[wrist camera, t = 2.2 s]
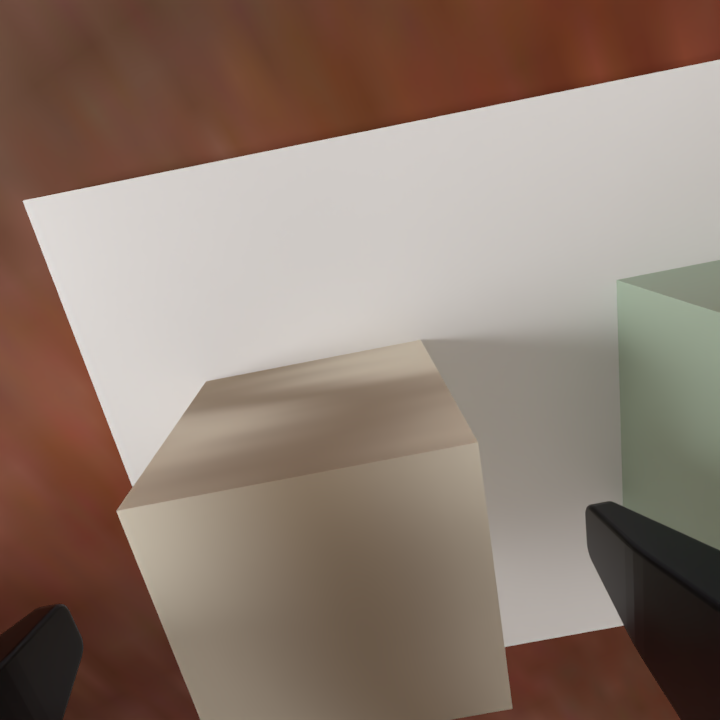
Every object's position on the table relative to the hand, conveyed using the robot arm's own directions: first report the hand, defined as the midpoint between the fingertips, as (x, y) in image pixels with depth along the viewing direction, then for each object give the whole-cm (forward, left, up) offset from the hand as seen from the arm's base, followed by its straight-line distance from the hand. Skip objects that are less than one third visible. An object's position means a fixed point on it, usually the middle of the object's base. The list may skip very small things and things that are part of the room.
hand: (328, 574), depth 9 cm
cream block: (0, 0, -4) cm, 4 cm away
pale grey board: (+5, 0, -5) cm, 7 cm away
